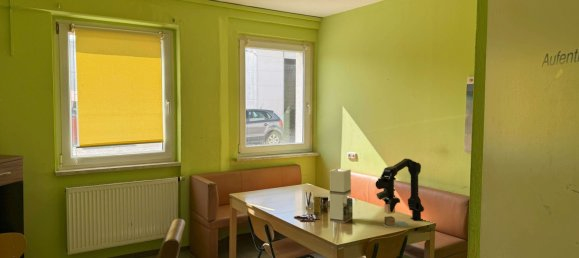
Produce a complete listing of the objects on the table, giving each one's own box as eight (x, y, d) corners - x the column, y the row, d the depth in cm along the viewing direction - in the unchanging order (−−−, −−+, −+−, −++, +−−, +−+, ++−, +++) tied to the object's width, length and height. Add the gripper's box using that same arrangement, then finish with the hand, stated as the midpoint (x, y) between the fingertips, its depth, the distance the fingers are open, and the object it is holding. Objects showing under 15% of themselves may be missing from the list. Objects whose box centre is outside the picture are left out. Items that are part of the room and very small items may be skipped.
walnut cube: (384, 224, 282) (384, 216, 282) (391, 223, 283) (391, 216, 283) (387, 226, 277) (387, 218, 277) (394, 225, 278) (394, 218, 278)
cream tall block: (344, 223, 290) (343, 171, 288) (330, 221, 295) (329, 170, 293) (351, 219, 299) (350, 169, 298) (337, 217, 305) (336, 168, 303)
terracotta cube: (384, 211, 282) (384, 204, 282) (391, 211, 283) (391, 203, 283) (387, 213, 277) (387, 206, 277) (394, 213, 278) (394, 205, 278)
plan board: (379, 224, 285) (379, 223, 285) (403, 222, 288) (403, 221, 288) (386, 229, 274) (386, 227, 274) (411, 227, 277) (411, 225, 277)
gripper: (372, 185, 287) (372, 208, 287) (383, 190, 268) (383, 215, 269) (388, 184, 289) (388, 207, 290) (400, 189, 270) (400, 214, 271)
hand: (389, 211), depth 280 cm, fingers closed on terracotta cube, 5 cm apart
